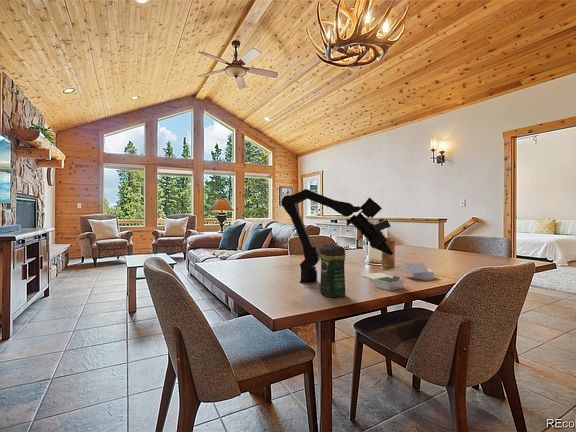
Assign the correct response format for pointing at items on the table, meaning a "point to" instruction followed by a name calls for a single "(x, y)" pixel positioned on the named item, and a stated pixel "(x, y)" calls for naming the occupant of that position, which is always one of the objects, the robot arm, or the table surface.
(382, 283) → the white open box
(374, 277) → the mat
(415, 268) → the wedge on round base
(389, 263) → the brown cylinder
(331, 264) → the coffee jar
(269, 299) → the table surface
